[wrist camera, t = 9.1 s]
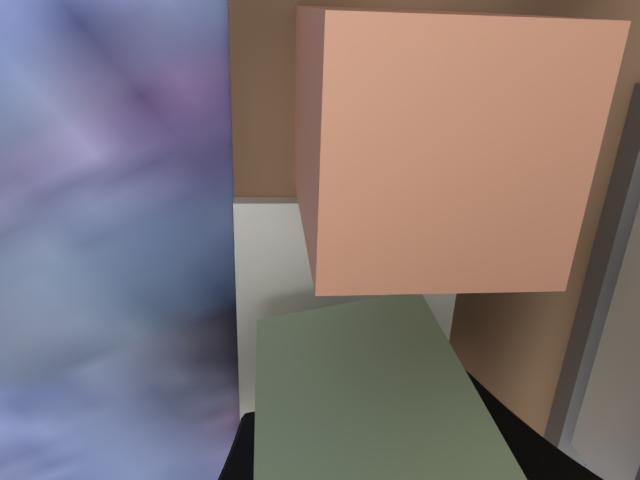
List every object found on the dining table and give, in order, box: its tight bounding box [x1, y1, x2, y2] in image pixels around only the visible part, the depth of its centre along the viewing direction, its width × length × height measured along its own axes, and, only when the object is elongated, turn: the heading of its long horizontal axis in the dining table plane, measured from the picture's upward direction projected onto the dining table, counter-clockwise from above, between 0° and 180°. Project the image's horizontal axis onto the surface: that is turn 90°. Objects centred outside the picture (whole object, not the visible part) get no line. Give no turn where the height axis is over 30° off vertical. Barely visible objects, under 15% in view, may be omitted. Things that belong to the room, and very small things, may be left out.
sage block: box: [254, 294, 527, 480], centre depth 11 cm, size 4×4×6 cm
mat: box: [233, 197, 456, 421], centre depth 16 cm, size 6×9×1 cm, turn 178°
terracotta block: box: [294, 5, 631, 296], centre depth 10 cm, size 4×4×6 cm
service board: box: [228, 0, 640, 437], centre depth 14 cm, size 15×23×1 cm, turn 178°
